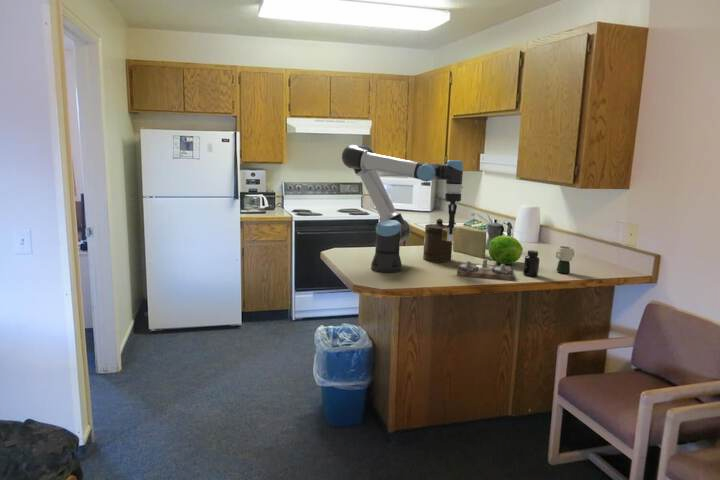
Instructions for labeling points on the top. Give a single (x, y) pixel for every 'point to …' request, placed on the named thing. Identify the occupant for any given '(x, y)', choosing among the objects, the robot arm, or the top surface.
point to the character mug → (564, 258)
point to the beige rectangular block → (470, 241)
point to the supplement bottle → (531, 264)
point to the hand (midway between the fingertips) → (450, 239)
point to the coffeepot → (494, 231)
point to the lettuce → (505, 249)
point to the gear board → (485, 270)
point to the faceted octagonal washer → (455, 237)
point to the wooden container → (436, 243)
